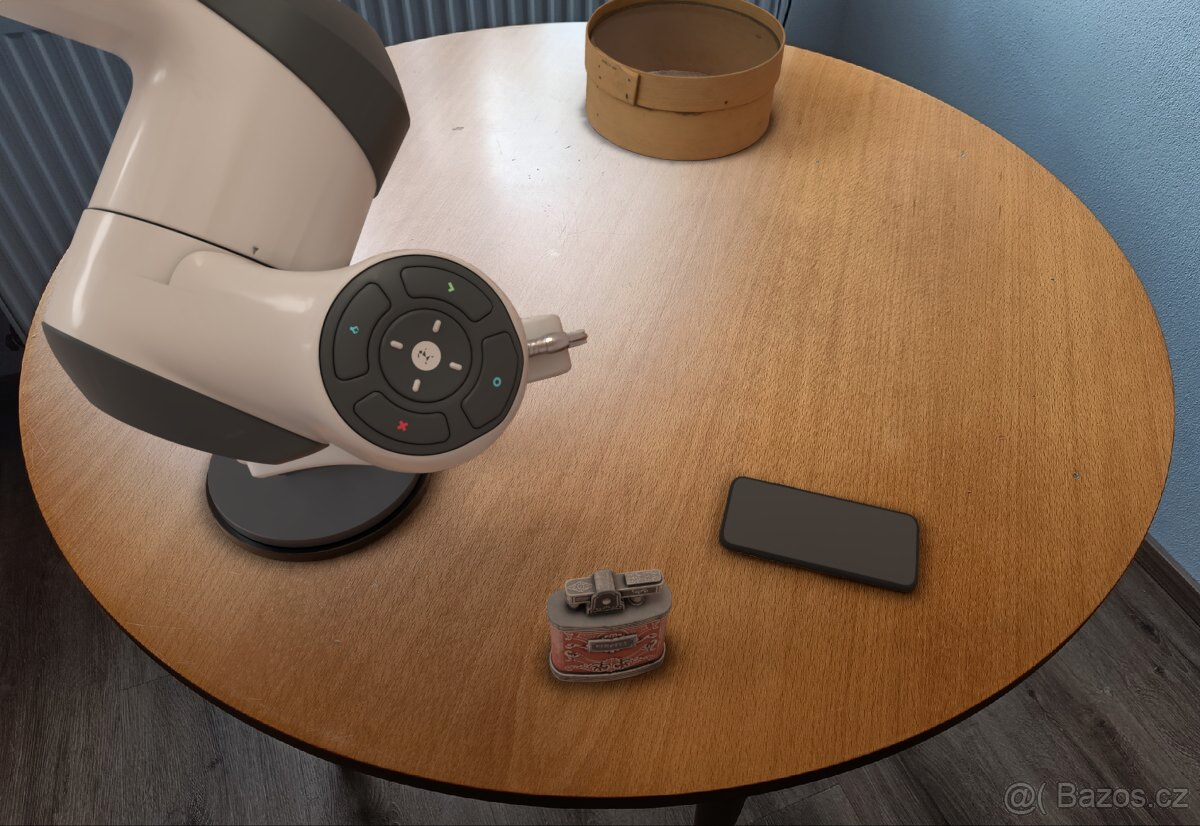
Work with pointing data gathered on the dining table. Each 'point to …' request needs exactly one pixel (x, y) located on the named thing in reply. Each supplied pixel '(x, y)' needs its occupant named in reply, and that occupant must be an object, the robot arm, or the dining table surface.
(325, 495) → the dish rack
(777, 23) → the steamer basket
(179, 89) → the robot arm
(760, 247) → the dining table surface
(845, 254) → the dining table surface
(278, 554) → the rack base
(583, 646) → the lighter
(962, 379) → the dining table surface
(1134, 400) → the dining table surface
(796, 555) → the smartphone
